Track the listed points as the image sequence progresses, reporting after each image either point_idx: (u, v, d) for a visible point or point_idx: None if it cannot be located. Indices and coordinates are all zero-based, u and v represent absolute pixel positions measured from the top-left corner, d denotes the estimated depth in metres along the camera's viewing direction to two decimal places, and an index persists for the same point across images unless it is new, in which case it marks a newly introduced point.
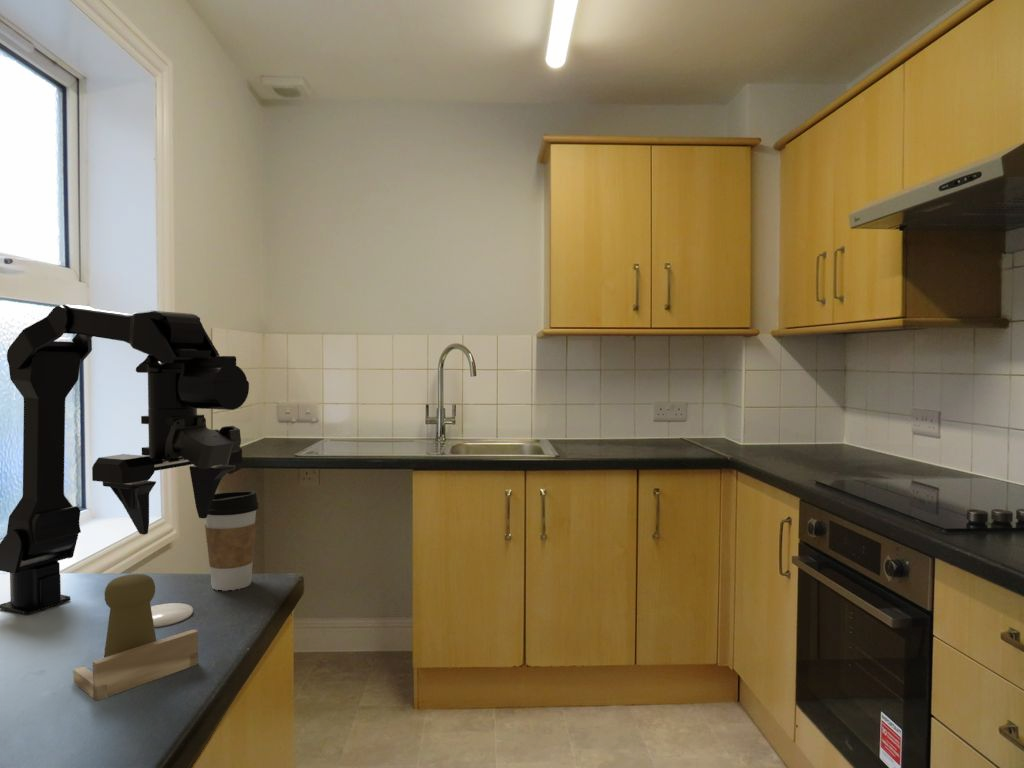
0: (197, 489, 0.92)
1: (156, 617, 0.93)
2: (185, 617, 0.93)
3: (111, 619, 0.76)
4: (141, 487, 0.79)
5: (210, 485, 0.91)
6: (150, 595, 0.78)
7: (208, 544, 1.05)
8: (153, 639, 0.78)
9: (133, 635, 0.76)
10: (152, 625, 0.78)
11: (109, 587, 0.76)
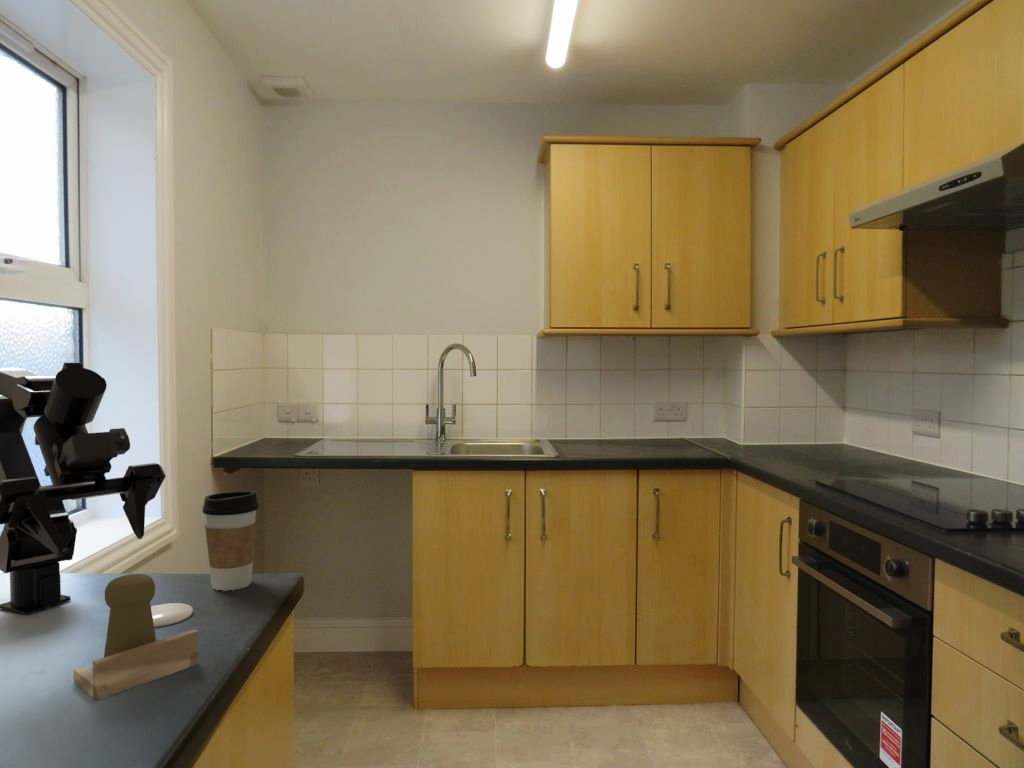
0: (130, 517, 0.88)
1: (156, 617, 0.93)
2: (185, 617, 0.93)
3: (111, 619, 0.76)
4: (27, 499, 0.78)
5: (134, 503, 0.88)
6: (150, 595, 0.78)
7: (208, 544, 1.05)
8: (153, 639, 0.78)
9: (133, 635, 0.76)
10: (152, 625, 0.78)
11: (109, 587, 0.76)
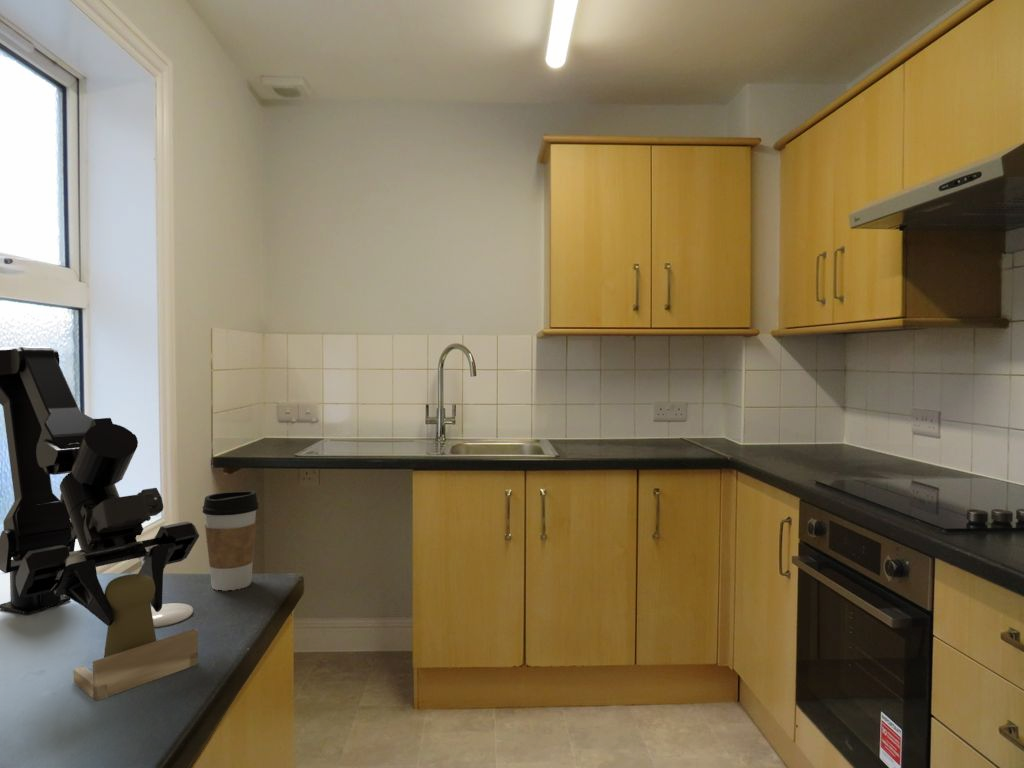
0: None
1: (156, 617, 0.93)
2: (185, 617, 0.93)
3: None
4: (77, 567, 0.75)
5: (151, 571, 0.81)
6: (150, 595, 0.78)
7: (208, 544, 1.05)
8: (153, 639, 0.78)
9: (133, 635, 0.76)
10: (152, 625, 0.78)
11: (109, 587, 0.76)
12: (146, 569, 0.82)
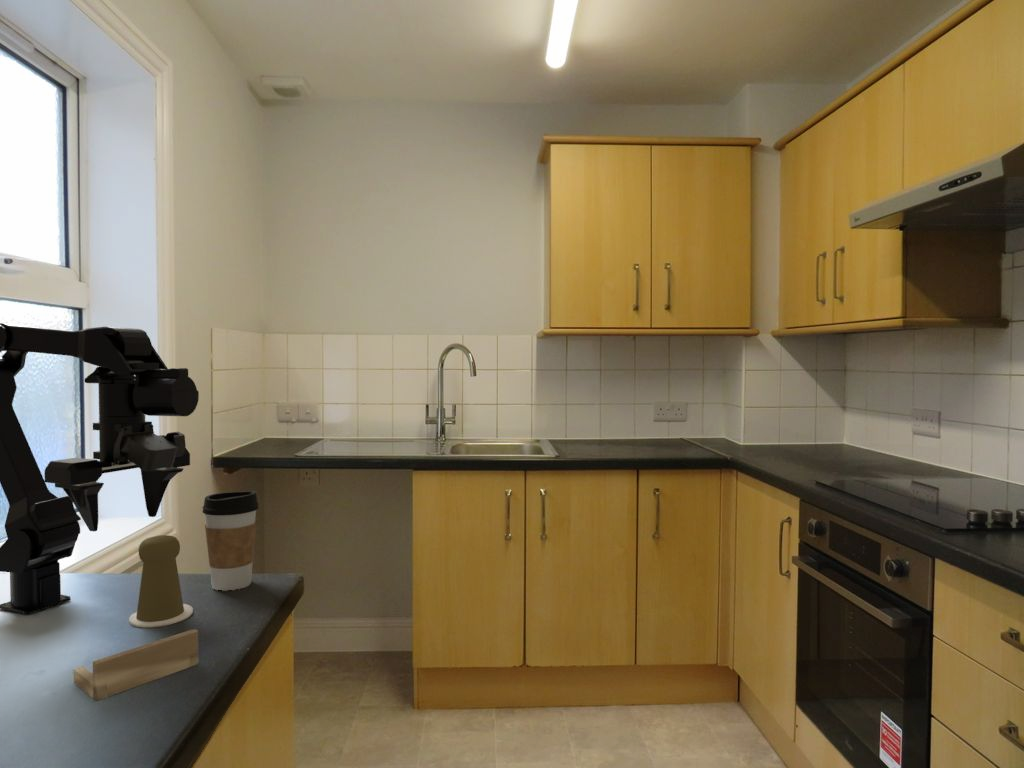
0: (147, 490, 1.00)
1: None
2: (185, 617, 0.93)
3: (144, 571, 0.92)
4: (89, 488, 0.87)
5: (159, 486, 0.99)
6: (176, 552, 0.94)
7: (208, 544, 1.05)
8: (178, 589, 0.94)
9: (162, 584, 0.92)
10: (177, 577, 0.94)
11: (142, 545, 0.92)
12: (153, 477, 0.99)
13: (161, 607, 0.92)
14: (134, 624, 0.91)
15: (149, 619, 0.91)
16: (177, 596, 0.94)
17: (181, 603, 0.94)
